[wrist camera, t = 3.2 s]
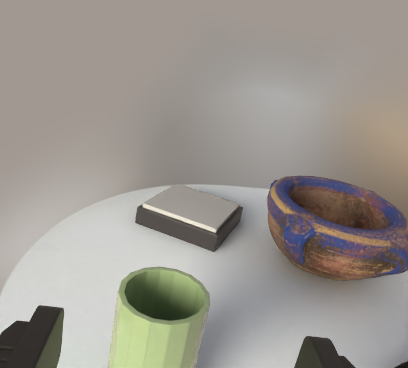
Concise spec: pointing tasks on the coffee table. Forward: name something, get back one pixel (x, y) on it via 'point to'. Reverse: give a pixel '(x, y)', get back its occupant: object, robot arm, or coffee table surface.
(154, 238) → the coffee table surface
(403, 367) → the game controller
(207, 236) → the kitchen scale
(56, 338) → the robot arm
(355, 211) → the bowl
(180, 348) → the light green cup
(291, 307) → the coffee table surface
